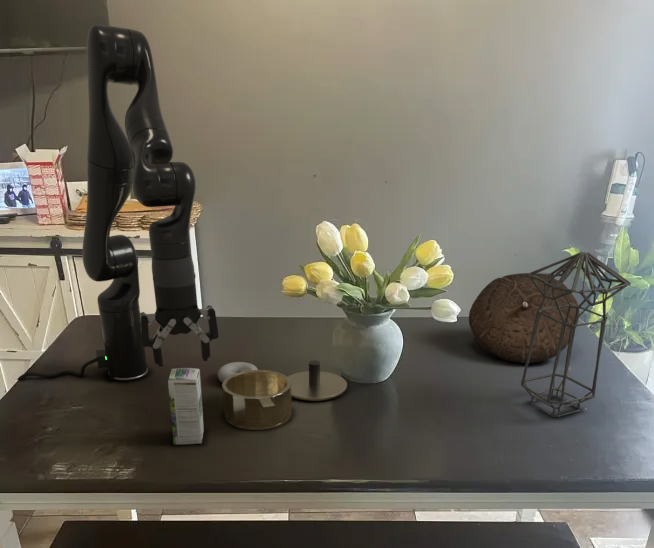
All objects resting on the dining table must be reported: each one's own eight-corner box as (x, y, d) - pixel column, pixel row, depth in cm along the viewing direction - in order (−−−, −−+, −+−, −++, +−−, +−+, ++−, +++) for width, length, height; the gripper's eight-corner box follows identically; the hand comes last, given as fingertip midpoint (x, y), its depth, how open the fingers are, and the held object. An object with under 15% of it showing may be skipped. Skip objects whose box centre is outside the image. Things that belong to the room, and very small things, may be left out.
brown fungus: (467, 370, 174) (457, 273, 172) (480, 369, 195) (471, 283, 194) (583, 355, 163) (573, 252, 162) (583, 357, 185) (575, 266, 183)
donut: (212, 387, 161) (252, 390, 159) (211, 374, 159) (251, 377, 158) (226, 371, 170) (264, 374, 168) (225, 358, 168) (263, 361, 166)
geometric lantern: (550, 428, 145) (582, 265, 128) (504, 399, 157) (527, 247, 140) (605, 414, 151) (643, 257, 134) (556, 387, 163) (585, 240, 146)
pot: (235, 440, 138) (233, 408, 135) (216, 400, 155) (214, 369, 151) (303, 430, 143) (303, 398, 139) (277, 391, 159) (277, 362, 156)
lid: (292, 407, 152) (292, 379, 149) (273, 379, 165) (273, 354, 162) (356, 397, 157) (357, 371, 154) (333, 372, 170) (334, 347, 166)
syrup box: (176, 431, 141) (169, 367, 134) (205, 431, 142) (199, 367, 135) (173, 445, 136) (166, 379, 129) (203, 444, 137) (197, 378, 130)
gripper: (209, 271, 128) (215, 351, 136) (132, 277, 124) (143, 360, 132) (217, 282, 122) (223, 365, 130) (136, 289, 118) (147, 374, 126)
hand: (182, 362), depth 131 cm, fingers open, 8 cm apart
